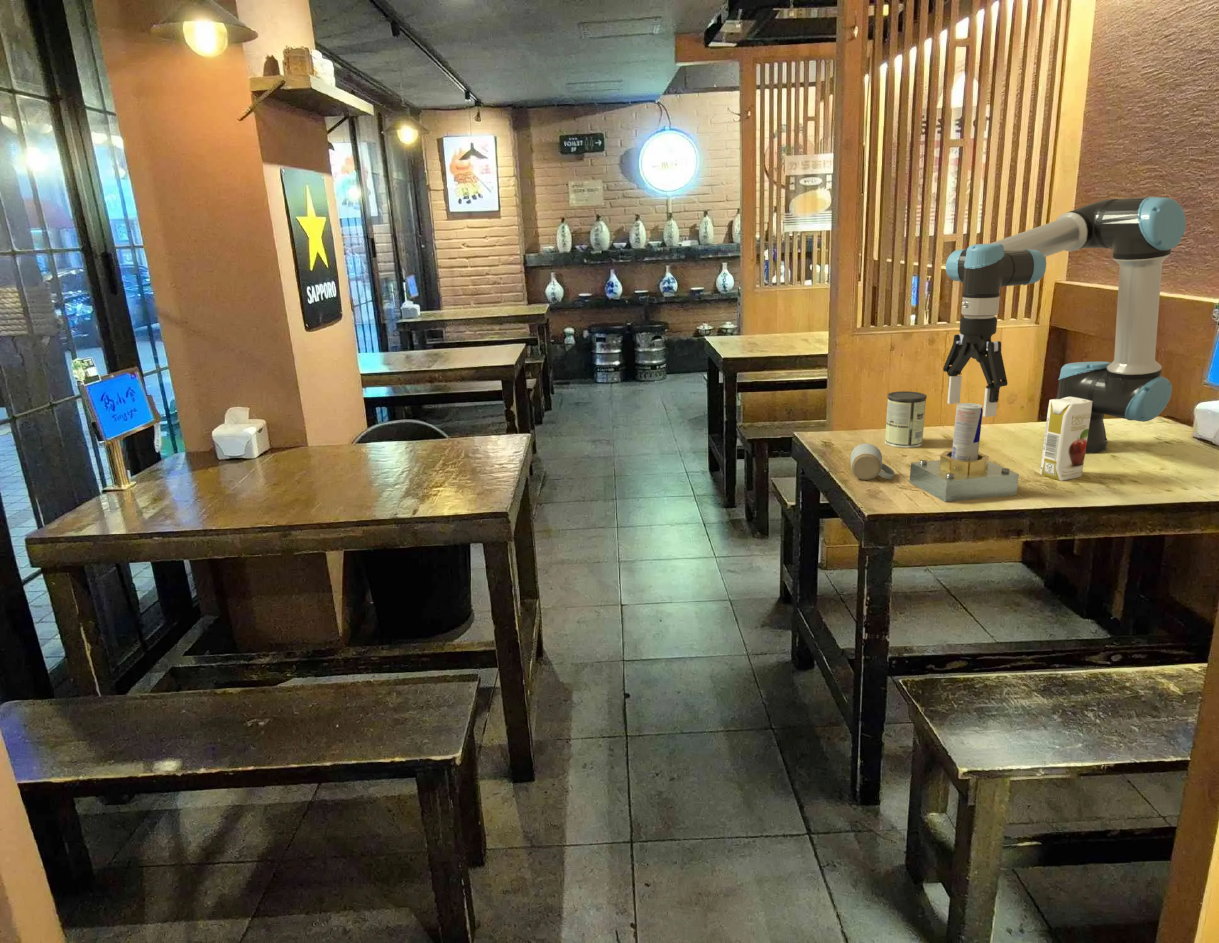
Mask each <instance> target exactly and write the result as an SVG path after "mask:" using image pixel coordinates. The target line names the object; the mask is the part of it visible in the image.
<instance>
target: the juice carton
mask: <svg viewBox="0 0 1219 943" xmlns="http://www.w3.org/2000/svg"><path fill="white" fill-rule="evenodd" d="M1091 410H1092V401H1090V400H1086V399H1082V398H1076V397H1070V396H1069V397H1065V398H1062V399H1057V398H1053V399H1052V398H1051V399H1049V402H1048V407H1047V415H1046V423H1045V430H1044V436H1045V437H1044V438H1043V445H1042V452H1041V462H1040V469H1039V474H1040V475H1041V476H1044V477H1047V478H1050V479H1054V480H1057V481H1068V480H1071V479H1077V478H1081V477H1082V475H1083V471H1084V470H1083V469H1084V463H1085V457H1086V453H1085V451H1086V445H1087V438H1088V431H1089V424H1090V417H1091Z"/></svg>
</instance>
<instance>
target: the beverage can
mask: <svg viewBox="0 0 1219 943" xmlns="http://www.w3.org/2000/svg"><path fill="white" fill-rule="evenodd" d="M983 409H984V405H981V404H978V403H975V402H974V403H972V402H961V403H956V409H955V419H954V428H953V439H952V449H951V451H952V458H953V459H957V460H965V461H973V460H978V452H979V449H980V439H981V433H982V432H981V431H982V420H983Z"/></svg>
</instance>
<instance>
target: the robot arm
mask: <svg viewBox="0 0 1219 943" xmlns="http://www.w3.org/2000/svg"><path fill="white" fill-rule="evenodd" d="M1186 222H1187V221H1186V213H1185V212H1184V209H1183V207H1182V206H1181V204H1179V202H1178V201H1177V200H1175V199H1173V198H1171V197H1162V196H1161V197H1157V196H1145V197H1133V198H1132V197H1130V198H1129V197H1127V198H1110V199H1105V200H1099V201H1097V202H1093V203H1090V204H1088V205H1084V206H1082V207H1078V208H1075V209H1073V210H1070V211H1067V212H1064V213H1063V214H1061V215H1059V216H1058V217H1057V218H1056V220H1054V221H1051V222H1048V223H1045V224H1042V225H1040V226H1036V227H1034V228H1031V229H1028V230H1025V231H1022V232H1019V233H1016V234H1014V235H1009V236H1008V237H1005V238H1002V239H999V240H996V241H994V242H990V243H977V244H971V245H969V246H967V248H963V249H957V250H954V251H952V252H951V253H950V255H949V256H948V257H947V259H946V262H945V272H946V275H947V277H948V278H949V279H950V280H951V281H954V282H955V281H956V282H960V283H963V286H962V300H961V301H962V302H961V310H960V312H961V313H960V314H961V315H962V317H961V318H960V321H959V329H958V330H959V332H958V333H959V334H954V336H953V340H952V345H951V347H950V350H949V352H948V356H947V358H946V360H945V363H944V365H943V367H942V371H943V372H945V373H947V376H948V384H947V386H948V390H947V402H946V403H947V404H948V405H954V404H960V400H961V392H962V391H961V389H962V378H963V376H962V375H963V373H962V371H963V369H964V368H965V366H966V365H967V364H968V362H969V361H970V360H971V358H972V359H974V360H976V362H977V363H979V365H980V368H981V370H982V371H981V372H982V373H983V376H984V378H985V380H986V384H987V385H986V386H985V390H984V400H983V408H982V409H983V413H982V417H984V418H988V417H996V416H997V409H998V402H999V398H1000V388H1002V387H1007V386H1008V379H1007V375H1006V373H1007V372H1006V368H1005V364H1004V359H1003V354H1002V342H1001V341H1000V340H997V341H992V336H993V335H995V334H996V333H997V327H998V318H997V317H996V316H997V315H998V314H999V310H1000V309H999V308H1000V298H1001V296H1000V295H1001V288H1003V287H1012V286H1022V285H1023V286H1027V285H1030V284H1035V283H1037V282H1039V281H1040V280H1042V278H1043V277H1044V275H1045V274H1046V270H1047V269H1046V268H1047V260H1046V257H1049V256H1052V255H1054V254H1057V253H1060V252H1063V251H1065V252H1074V251H1078V250H1082V249H1111V250H1112V260H1113V261H1114V262H1115V263H1117V264H1118V265H1119V270H1118V271H1119V273H1118V290H1117V291H1118V292H1117V303H1116V304H1117V305H1116V306H1117V307H1116V320H1115V321H1116V325H1115V337H1114V338H1115V340H1114V356H1113V361H1112V362H1110V361H1077V362H1069V363H1066V364H1063V366H1062V367H1061V368H1060V373H1059V378H1058V379H1057V380H1058V384H1057V392H1056V393H1057V394H1056V399H1062V398H1065V397H1069V396H1070V397H1076V398H1082V399H1086V400H1090V401H1092V410H1091V417H1090V424H1089V431H1088V438H1087V445H1086V451H1085V454H1089V453H1091V454H1092V453H1100V452H1101V453H1102V452H1103V451H1106V450H1107V448H1108V447H1107V446H1108V443H1109V442H1108V438H1107V433H1106V427H1105V423H1104V416H1105V415H1107V416H1110V417H1115V418H1120V419H1125V420H1126V421H1130V422H1131V421H1135V422H1143V423H1144V422H1150V421H1152V420H1154V419H1156V418H1157V417H1158V416H1160V414H1161V413H1162V412H1163V411H1164V410H1165V409H1166V407H1167V405H1168V403H1169V402H1170V400H1171V398H1172V397H1171V396H1172V389H1173V386H1172V383H1171V382H1170V380H1169V379H1168V378H1166V377H1164V376H1162V368H1163V367H1162V365H1161V364H1160V363H1159V362H1158V361H1156V349H1157V336H1158V335H1157V334H1158V323H1159V322H1158V321H1159V310H1160V309H1159V308H1160V300H1161V299H1160V298H1161V297H1160V296H1161V285H1162V284H1161V282H1162V271H1163V270H1162V269H1163V262H1164V261H1166V259H1168V258H1169V257H1170V256H1171V253H1172V249H1174V248H1175V247H1177V246H1178V245H1179V244H1180V243H1181V241H1182V237H1183V236H1184V235H1185V232H1186V224H1187V223H1186ZM1044 437H1045V435H1044Z"/></svg>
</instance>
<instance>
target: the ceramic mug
mask: <svg viewBox="0 0 1219 943" xmlns="http://www.w3.org/2000/svg"><path fill="white" fill-rule="evenodd" d="M850 469H851V472H852V473H853V475H854V476H855V477H857V479H860V480H863V481H870V480H873V479H875V478H877V476H879V477H881V478H883V479H886V480H892V479H893V477H894V476H895V471H894V469H892V467H890V466H888V465H887V464H885V463H883V454H882V453H881V450H880V449H879V448H878V447H877V446H876V445H874V444H871V443H869V442H868V443H866V442H865V443H860V444H858V445H856V446H855V447H854V448H853V449H852V451H851V453H850Z"/></svg>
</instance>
